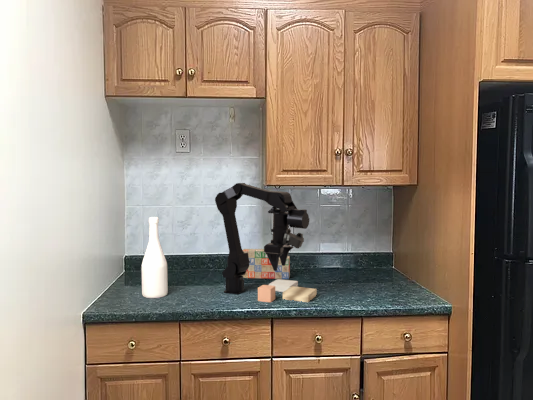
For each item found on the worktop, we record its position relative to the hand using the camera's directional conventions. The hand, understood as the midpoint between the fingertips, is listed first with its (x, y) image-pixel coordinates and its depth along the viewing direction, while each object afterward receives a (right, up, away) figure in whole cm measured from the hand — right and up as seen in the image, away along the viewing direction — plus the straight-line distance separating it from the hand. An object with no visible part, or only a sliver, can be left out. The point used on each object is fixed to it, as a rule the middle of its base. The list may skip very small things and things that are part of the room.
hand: (279, 268), depth 168 cm
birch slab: (+8, -12, +4) cm, 15 cm away
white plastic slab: (+2, -11, +16) cm, 20 cm away
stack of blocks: (-5, -10, +37) cm, 38 cm away
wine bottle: (-47, -12, +6) cm, 49 cm away
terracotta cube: (-5, -12, 0) cm, 13 cm away
